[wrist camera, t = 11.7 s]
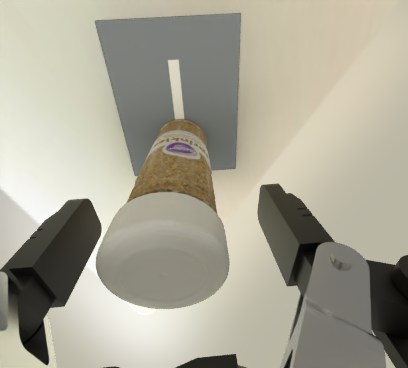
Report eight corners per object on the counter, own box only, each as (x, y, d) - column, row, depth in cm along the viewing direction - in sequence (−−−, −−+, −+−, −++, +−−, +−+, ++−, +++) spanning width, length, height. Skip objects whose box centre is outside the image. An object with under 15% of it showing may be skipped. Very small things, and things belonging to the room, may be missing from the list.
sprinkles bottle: (204, 115, 17) (233, 221, 5) (207, 164, 19) (231, 309, 8) (151, 119, 17) (65, 234, 5) (160, 167, 19) (114, 319, 8)
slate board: (101, 23, 14) (94, 20, 13) (237, 16, 15) (241, 13, 14) (137, 170, 21) (134, 176, 20) (233, 163, 21) (235, 168, 20)
